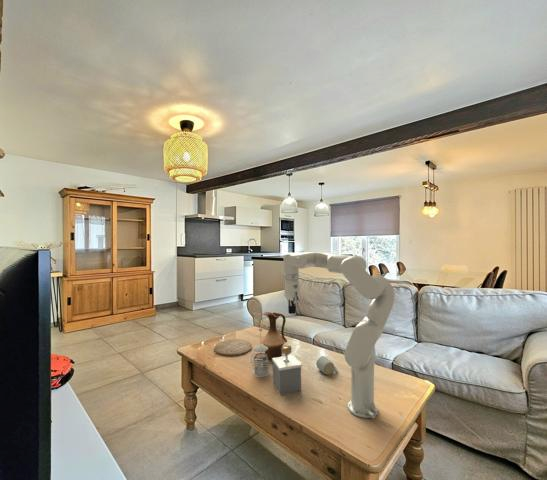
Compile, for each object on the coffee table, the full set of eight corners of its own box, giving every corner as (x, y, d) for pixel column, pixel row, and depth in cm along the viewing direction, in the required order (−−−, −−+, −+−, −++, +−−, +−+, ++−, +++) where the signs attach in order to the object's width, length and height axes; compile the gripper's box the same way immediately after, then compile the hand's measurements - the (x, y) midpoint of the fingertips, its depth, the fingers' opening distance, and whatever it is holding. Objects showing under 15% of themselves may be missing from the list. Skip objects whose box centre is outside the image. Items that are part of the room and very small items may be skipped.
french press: (273, 372, 160) (273, 328, 159) (258, 380, 151) (258, 333, 150) (261, 366, 166) (260, 324, 166) (246, 374, 158) (245, 329, 157)
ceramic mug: (324, 377, 154) (324, 363, 154) (315, 370, 161) (316, 357, 161) (340, 373, 158) (340, 359, 158) (331, 366, 166) (331, 353, 166)
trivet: (206, 351, 190) (206, 348, 190) (232, 339, 211) (232, 336, 211) (234, 360, 176) (234, 357, 176) (259, 346, 196) (259, 344, 196)
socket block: (301, 390, 141) (301, 364, 140) (279, 395, 137) (279, 368, 137) (290, 375, 156) (289, 351, 155) (269, 379, 152) (269, 354, 152)
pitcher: (289, 352, 186) (289, 309, 185) (284, 363, 170) (284, 317, 169) (264, 349, 191) (263, 307, 190) (256, 360, 174) (255, 315, 173)
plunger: (293, 383, 143) (292, 348, 142) (283, 385, 141) (283, 349, 141) (289, 379, 148) (289, 344, 147) (280, 380, 146) (280, 346, 145)
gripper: (304, 278, 139) (305, 316, 139) (292, 274, 153) (292, 308, 153) (290, 279, 136) (291, 318, 136) (279, 275, 150) (279, 310, 150)
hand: (292, 313), depth 145 cm, fingers closed
